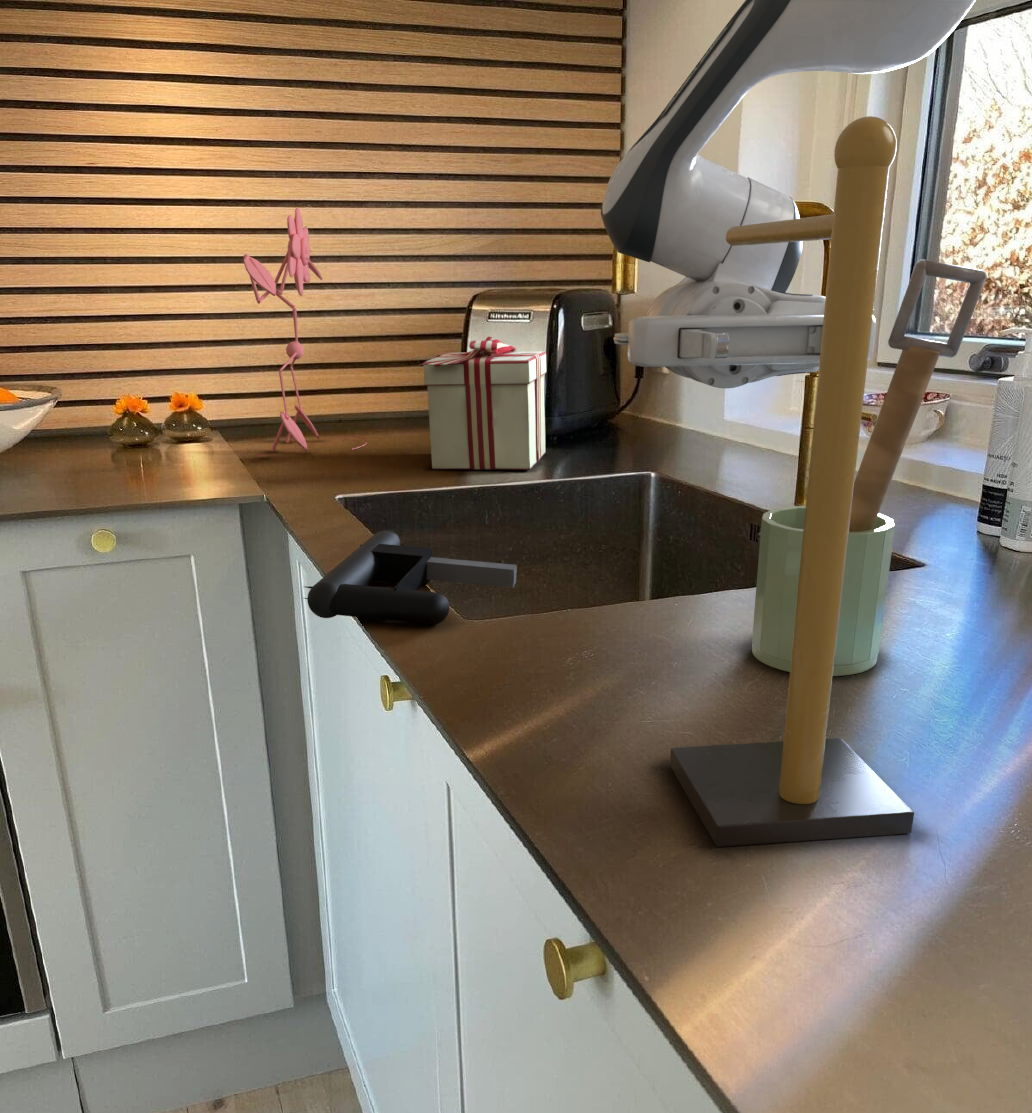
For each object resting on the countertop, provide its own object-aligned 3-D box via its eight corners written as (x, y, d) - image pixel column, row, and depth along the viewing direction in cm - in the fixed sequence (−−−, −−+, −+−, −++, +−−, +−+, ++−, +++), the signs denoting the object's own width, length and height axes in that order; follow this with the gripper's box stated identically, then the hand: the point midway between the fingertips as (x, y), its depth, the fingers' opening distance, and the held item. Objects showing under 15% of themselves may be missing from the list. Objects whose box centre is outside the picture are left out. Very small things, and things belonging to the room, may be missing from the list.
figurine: (251, 461, 156) (225, 203, 143) (292, 435, 180) (273, 212, 167) (353, 460, 155) (336, 201, 142) (381, 434, 179) (368, 211, 166)
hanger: (778, 691, 69) (826, 157, 58) (911, 833, 52) (1021, 108, 40) (630, 699, 68) (649, 157, 56) (716, 847, 51) (769, 106, 39)
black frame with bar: (526, 540, 98) (361, 525, 100) (489, 603, 80) (288, 584, 82) (524, 574, 100) (362, 559, 102) (487, 644, 81) (289, 623, 83)
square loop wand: (830, 631, 78) (971, 264, 64) (852, 661, 74) (1006, 279, 61) (773, 624, 77) (903, 251, 64) (792, 655, 73) (934, 266, 60)
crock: (846, 632, 80) (861, 503, 77) (898, 673, 72) (917, 531, 69) (735, 637, 80) (745, 507, 76) (776, 679, 71) (788, 536, 68)
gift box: (427, 452, 161) (423, 335, 155) (547, 453, 160) (547, 335, 153) (406, 472, 145) (400, 343, 139) (538, 473, 144) (538, 342, 137)
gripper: (609, 298, 90) (647, 303, 77) (837, 295, 92) (911, 298, 79) (608, 375, 92) (644, 391, 79) (830, 369, 94) (901, 384, 82)
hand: (780, 345), depth 79 cm, fingers open, 8 cm apart
